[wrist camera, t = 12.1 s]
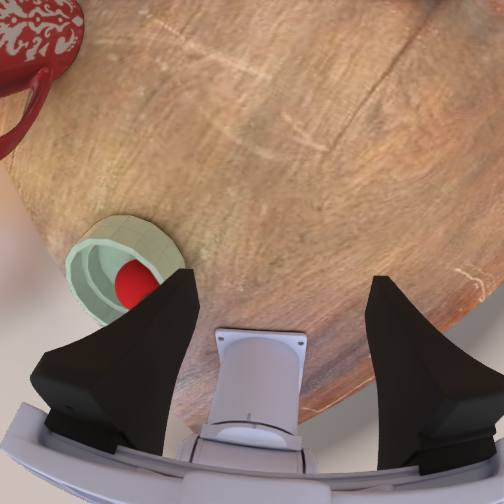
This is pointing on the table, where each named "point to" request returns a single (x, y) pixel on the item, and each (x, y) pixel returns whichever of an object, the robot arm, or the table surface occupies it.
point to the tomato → (134, 283)
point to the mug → (35, 53)
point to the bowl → (116, 262)
